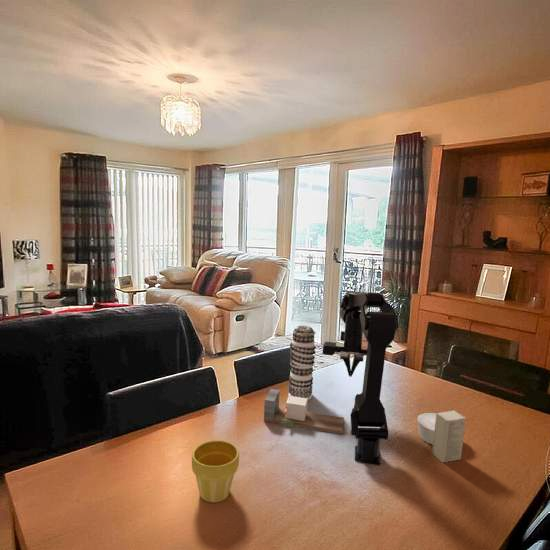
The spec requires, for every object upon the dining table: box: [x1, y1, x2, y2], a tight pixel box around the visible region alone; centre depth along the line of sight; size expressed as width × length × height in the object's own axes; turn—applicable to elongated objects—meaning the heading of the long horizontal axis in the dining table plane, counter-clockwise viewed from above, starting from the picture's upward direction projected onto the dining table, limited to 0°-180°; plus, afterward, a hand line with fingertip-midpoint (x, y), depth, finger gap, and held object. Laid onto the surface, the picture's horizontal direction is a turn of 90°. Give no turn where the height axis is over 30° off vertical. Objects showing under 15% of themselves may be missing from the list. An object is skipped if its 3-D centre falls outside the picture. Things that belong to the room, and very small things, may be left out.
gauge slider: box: [284, 396, 309, 421], centre depth 117 cm, size 8×6×5 cm
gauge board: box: [263, 388, 345, 435], centre depth 118 cm, size 9×24×7 cm, turn 77°
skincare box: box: [431, 409, 467, 463], centre depth 103 cm, size 6×4×12 cm
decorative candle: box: [287, 325, 317, 401], centre depth 134 cm, size 9×9×25 cm
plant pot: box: [191, 439, 240, 504], centre depth 86 cm, size 10×10×10 cm
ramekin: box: [416, 412, 437, 446], centre depth 112 cm, size 11×11×5 cm
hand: (350, 376), depth 125 cm, fingers closed
